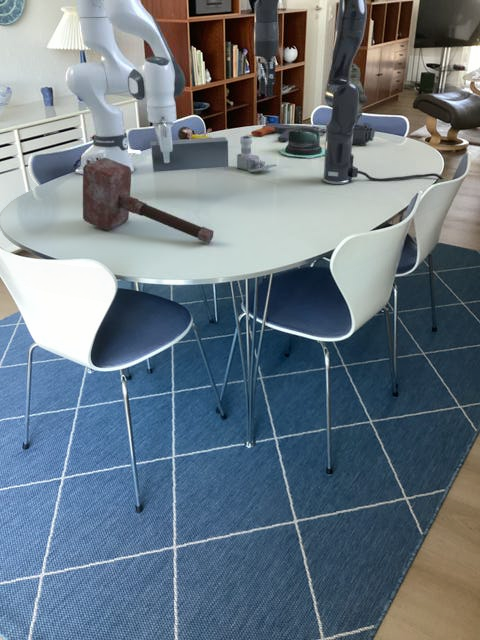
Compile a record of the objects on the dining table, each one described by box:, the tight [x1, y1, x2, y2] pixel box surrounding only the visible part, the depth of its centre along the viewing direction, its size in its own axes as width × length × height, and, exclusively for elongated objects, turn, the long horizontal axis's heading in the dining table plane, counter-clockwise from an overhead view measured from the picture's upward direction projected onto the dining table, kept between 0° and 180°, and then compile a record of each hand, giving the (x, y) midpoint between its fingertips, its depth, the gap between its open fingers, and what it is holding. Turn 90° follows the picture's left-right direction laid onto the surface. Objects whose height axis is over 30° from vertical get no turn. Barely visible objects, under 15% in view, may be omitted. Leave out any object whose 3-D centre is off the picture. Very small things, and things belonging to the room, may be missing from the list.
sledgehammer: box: [82, 158, 214, 244], centre depth 155 cm, size 17×10×40 cm
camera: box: [236, 135, 277, 173], centre depth 210 cm, size 9×12×15 cm
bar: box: [150, 136, 229, 173], centre depth 180 cm, size 24×6×8 cm, turn 101°
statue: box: [349, 63, 368, 125], centre depth 262 cm, size 11×9×30 cm
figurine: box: [177, 126, 213, 140], centre depth 251 cm, size 13×8×25 cm
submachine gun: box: [250, 122, 326, 142], centre depth 262 cm, size 32×3×25 cm
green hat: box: [279, 128, 325, 159], centre depth 234 cm, size 15×19×20 cm
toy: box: [352, 122, 376, 146], centre depth 244 cm, size 9×9×15 cm
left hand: (165, 159), depth 180 cm, fingers closed on bar, 5 cm apart
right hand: (266, 95), depth 177 cm, fingers open, 8 cm apart
